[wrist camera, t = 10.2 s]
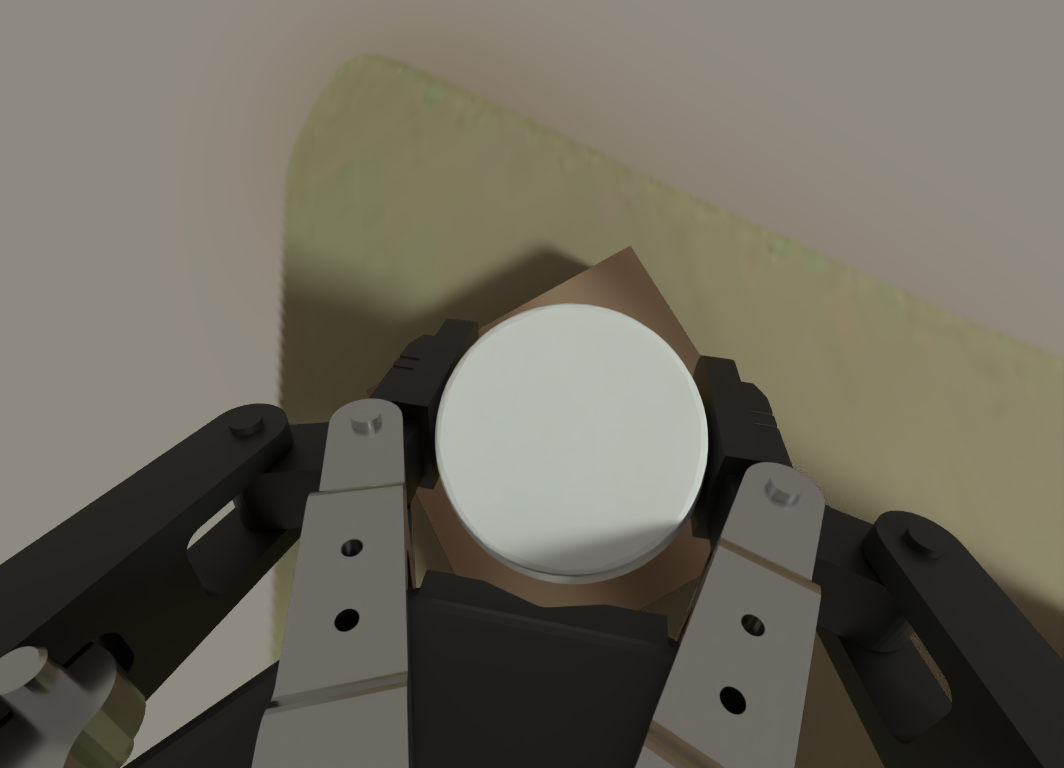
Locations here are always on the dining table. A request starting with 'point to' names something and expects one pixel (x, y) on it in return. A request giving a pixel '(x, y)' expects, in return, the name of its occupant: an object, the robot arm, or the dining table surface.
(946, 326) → the dining table surface
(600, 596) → the walnut plinth
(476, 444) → the supplement bottle
